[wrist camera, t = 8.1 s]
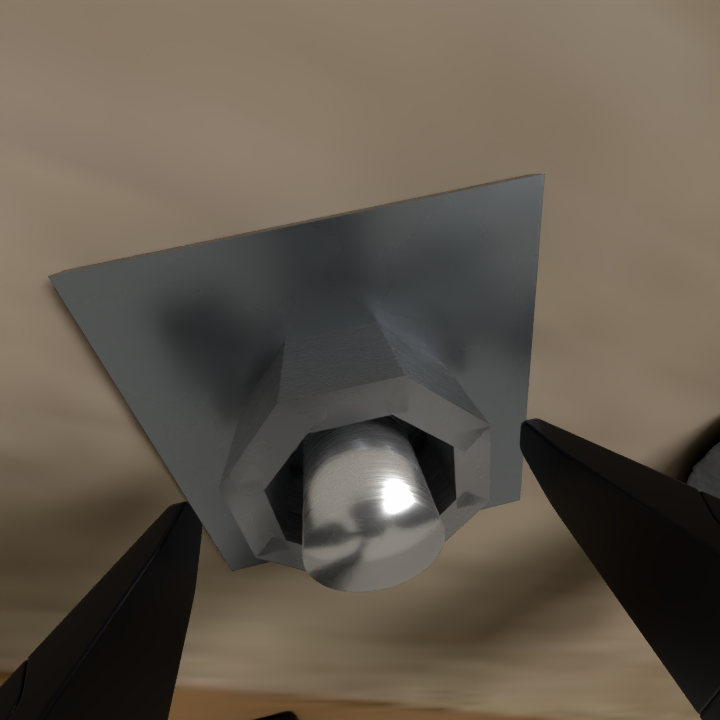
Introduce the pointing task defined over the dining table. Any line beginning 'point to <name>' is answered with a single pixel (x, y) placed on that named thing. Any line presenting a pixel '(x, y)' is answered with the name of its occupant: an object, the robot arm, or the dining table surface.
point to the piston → (317, 316)
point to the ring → (342, 407)
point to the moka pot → (707, 473)
